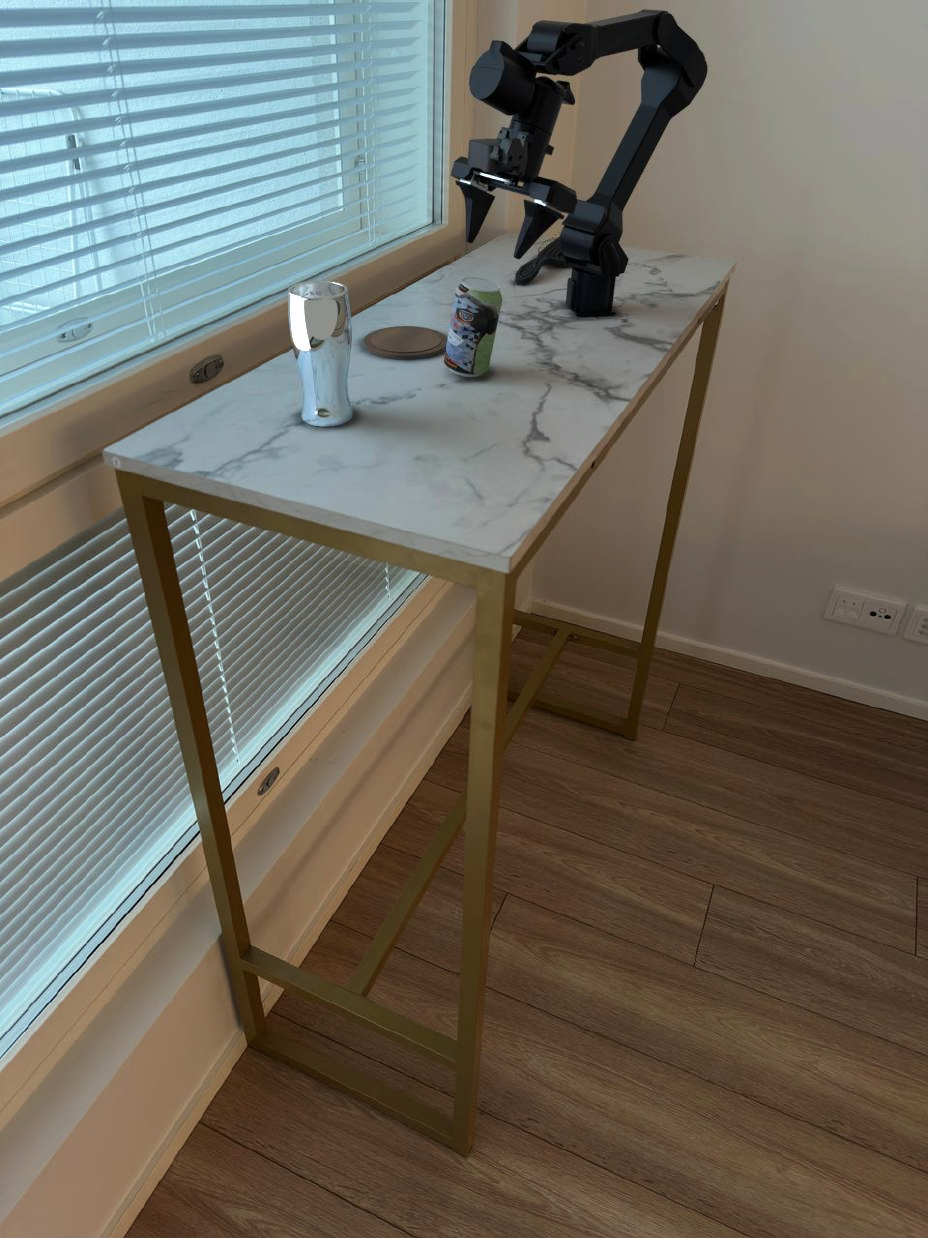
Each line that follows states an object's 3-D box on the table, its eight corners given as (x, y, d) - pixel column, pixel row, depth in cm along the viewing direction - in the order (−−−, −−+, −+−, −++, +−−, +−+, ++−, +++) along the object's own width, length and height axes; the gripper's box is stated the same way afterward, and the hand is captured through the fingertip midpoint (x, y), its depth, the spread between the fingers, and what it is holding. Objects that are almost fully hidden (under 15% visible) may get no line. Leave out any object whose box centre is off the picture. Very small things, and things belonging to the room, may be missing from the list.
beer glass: (365, 409, 110) (359, 283, 102) (341, 432, 105) (332, 301, 96) (314, 401, 112) (304, 276, 103) (287, 423, 107) (274, 294, 98)
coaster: (439, 328, 135) (440, 323, 134) (455, 357, 125) (455, 352, 125) (359, 331, 133) (359, 327, 132) (368, 361, 123) (368, 356, 123)
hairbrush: (497, 263, 153) (556, 224, 170) (496, 285, 155) (555, 245, 172) (542, 271, 150) (598, 231, 167) (541, 293, 152) (596, 251, 169)
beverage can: (442, 364, 123) (442, 273, 116) (496, 363, 124) (499, 273, 116) (445, 382, 118) (446, 288, 111) (501, 381, 119) (505, 287, 111)
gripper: (441, 95, 118) (406, 219, 123) (548, 117, 108) (505, 252, 113) (494, 125, 127) (459, 240, 132) (598, 148, 116) (555, 272, 122)
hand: (492, 250), depth 124 cm, fingers open, 9 cm apart
